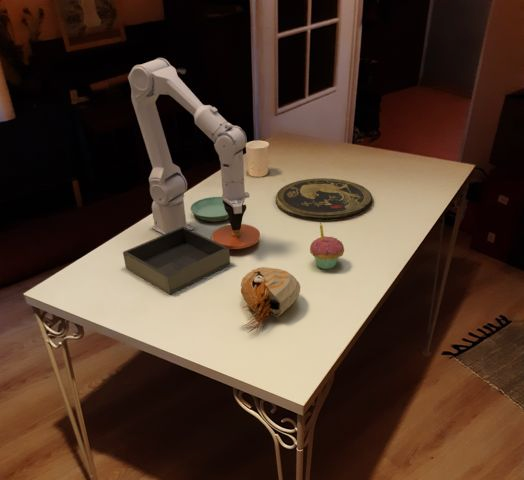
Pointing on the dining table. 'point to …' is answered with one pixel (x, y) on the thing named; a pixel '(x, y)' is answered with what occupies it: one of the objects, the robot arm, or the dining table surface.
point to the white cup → (257, 158)
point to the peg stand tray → (176, 259)
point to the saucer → (210, 209)
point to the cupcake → (326, 250)
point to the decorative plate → (324, 199)
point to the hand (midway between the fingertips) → (235, 227)
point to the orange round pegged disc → (236, 236)
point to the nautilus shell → (269, 292)
